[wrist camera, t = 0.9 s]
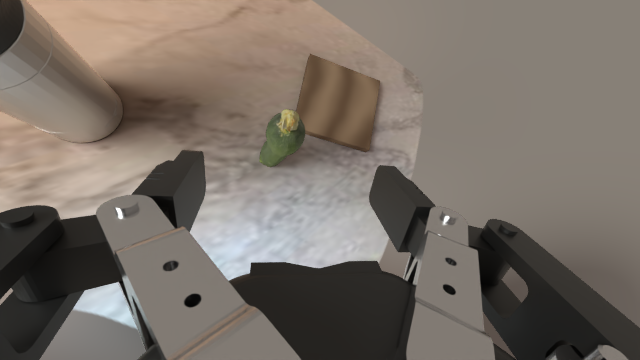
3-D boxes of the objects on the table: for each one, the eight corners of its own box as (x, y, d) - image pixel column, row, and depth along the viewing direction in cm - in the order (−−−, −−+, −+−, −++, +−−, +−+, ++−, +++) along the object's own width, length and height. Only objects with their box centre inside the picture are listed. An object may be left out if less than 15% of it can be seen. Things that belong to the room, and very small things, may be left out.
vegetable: (270, 141, 41) (295, 75, 22) (290, 159, 42) (332, 108, 23) (252, 161, 40) (263, 108, 21) (273, 179, 41) (302, 142, 22)
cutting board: (291, 129, 43) (293, 126, 41) (308, 59, 46) (310, 53, 44) (365, 152, 46) (369, 149, 45) (376, 85, 49) (380, 81, 48)
